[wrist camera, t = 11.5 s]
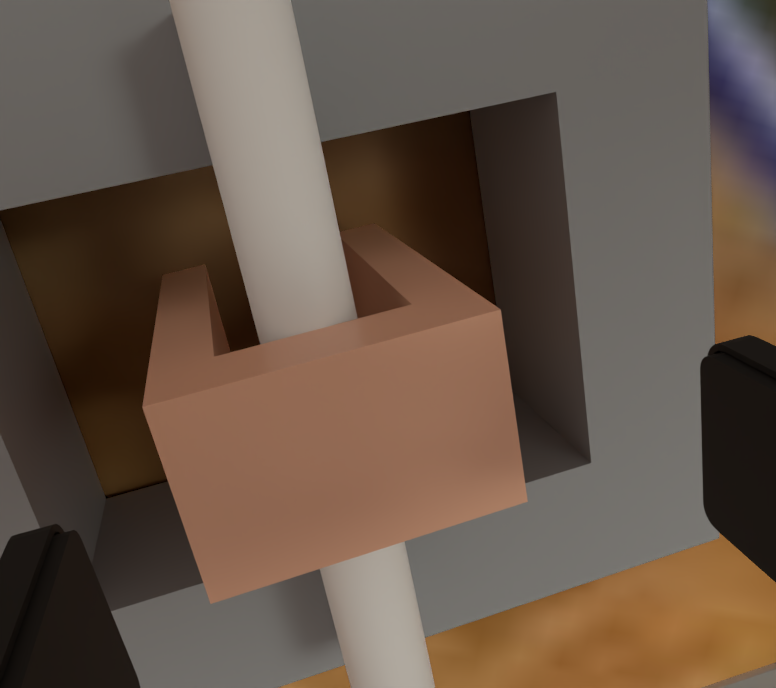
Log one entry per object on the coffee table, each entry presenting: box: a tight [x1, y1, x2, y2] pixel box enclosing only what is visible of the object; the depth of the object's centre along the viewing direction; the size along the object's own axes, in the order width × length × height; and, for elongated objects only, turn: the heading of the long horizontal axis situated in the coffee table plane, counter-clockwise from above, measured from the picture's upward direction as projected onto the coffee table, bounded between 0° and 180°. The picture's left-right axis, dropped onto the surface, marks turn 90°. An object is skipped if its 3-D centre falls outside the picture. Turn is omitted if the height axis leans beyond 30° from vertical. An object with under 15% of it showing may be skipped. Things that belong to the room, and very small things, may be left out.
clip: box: [142, 223, 528, 604], centre depth 17 cm, size 6×4×10 cm, turn 101°
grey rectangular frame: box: [0, 0, 719, 688], centre depth 19 cm, size 22×18×10 cm
